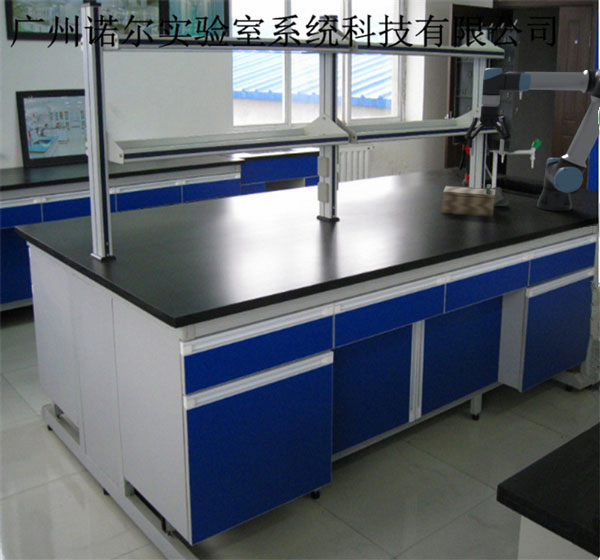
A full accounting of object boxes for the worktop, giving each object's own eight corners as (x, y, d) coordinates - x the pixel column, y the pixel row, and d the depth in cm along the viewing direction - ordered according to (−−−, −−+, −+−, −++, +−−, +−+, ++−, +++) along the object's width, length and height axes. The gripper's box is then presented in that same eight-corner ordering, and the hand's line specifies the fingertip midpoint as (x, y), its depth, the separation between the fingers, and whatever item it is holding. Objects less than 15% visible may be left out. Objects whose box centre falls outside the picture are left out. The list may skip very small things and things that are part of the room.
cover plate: (495, 192, 321) (496, 184, 319) (494, 197, 310) (495, 189, 308) (445, 188, 326) (446, 180, 325) (443, 194, 315) (443, 185, 314)
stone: (500, 182, 333) (488, 184, 327) (513, 199, 330) (501, 201, 323) (487, 196, 340) (475, 198, 333) (500, 212, 336) (487, 214, 330)
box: (493, 210, 324) (495, 189, 321) (492, 216, 311) (494, 195, 308) (444, 206, 330) (445, 185, 327) (441, 212, 317) (443, 191, 314)
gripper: (514, 104, 313) (509, 152, 319) (459, 105, 309) (456, 154, 316) (521, 105, 306) (516, 155, 312) (465, 106, 302) (462, 156, 309)
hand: (486, 154), depth 314 cm, fingers open, 13 cm apart
